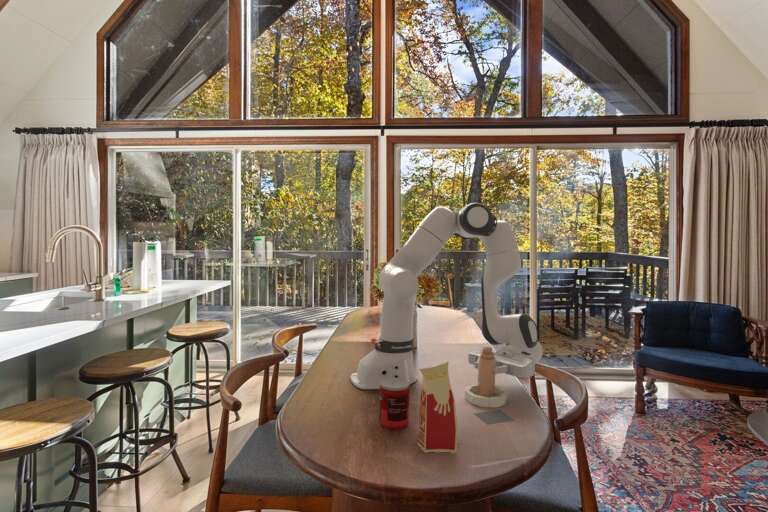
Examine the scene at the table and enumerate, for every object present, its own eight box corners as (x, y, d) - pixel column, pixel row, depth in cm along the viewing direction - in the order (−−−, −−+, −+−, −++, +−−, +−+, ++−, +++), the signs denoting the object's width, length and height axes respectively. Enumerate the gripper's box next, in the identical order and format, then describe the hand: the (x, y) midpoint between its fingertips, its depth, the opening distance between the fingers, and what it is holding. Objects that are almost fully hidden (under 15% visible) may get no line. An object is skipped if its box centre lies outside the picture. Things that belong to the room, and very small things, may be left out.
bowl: (478, 410, 123) (479, 400, 123) (459, 395, 134) (459, 386, 134) (514, 405, 126) (514, 396, 126) (492, 391, 138) (492, 382, 137)
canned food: (391, 414, 119) (391, 375, 118) (414, 423, 114) (415, 382, 113) (373, 423, 113) (373, 382, 112) (397, 433, 108) (397, 390, 107)
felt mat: (487, 425, 113) (487, 424, 113) (473, 414, 120) (473, 413, 120) (514, 421, 116) (514, 420, 116) (500, 410, 122) (500, 409, 122)
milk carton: (450, 434, 108) (452, 356, 107) (458, 453, 99) (460, 367, 97) (414, 434, 108) (416, 355, 106) (418, 453, 98) (420, 367, 97)
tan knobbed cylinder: (483, 397, 127) (484, 350, 126) (474, 391, 132) (475, 346, 131) (497, 395, 129) (499, 349, 128) (488, 389, 133) (490, 345, 132)
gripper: (482, 343, 146) (457, 350, 136) (539, 356, 131) (516, 366, 121) (481, 361, 146) (456, 370, 137) (538, 377, 131) (515, 387, 122)
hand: (485, 368), depth 129 cm, fingers closed on tan knobbed cylinder, 5 cm apart
